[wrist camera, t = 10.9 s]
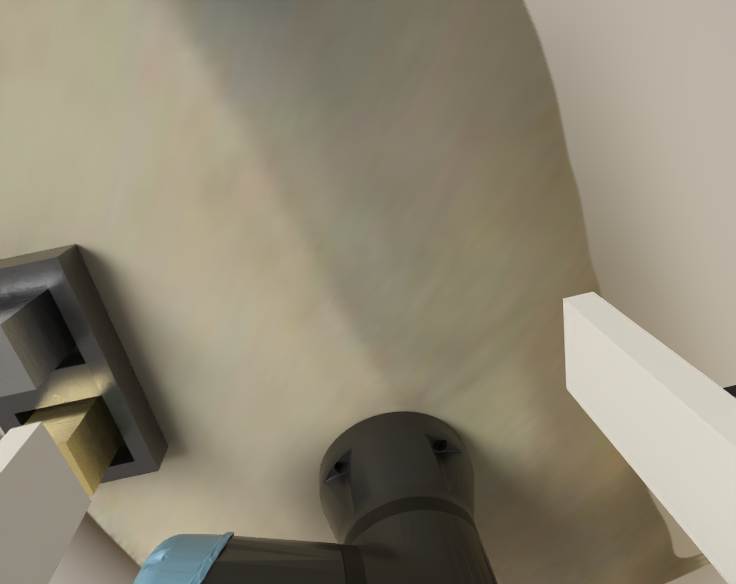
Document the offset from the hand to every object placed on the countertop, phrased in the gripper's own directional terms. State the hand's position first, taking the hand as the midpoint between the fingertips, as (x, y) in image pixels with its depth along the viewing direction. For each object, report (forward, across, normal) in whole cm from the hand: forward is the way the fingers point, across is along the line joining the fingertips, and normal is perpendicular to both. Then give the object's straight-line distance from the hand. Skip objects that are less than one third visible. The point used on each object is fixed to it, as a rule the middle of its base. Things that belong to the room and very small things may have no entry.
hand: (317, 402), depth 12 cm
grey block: (+26, +24, +5) cm, 35 cm away
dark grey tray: (+26, +24, +10) cm, 37 cm away
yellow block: (+26, +24, +15) cm, 38 cm away
